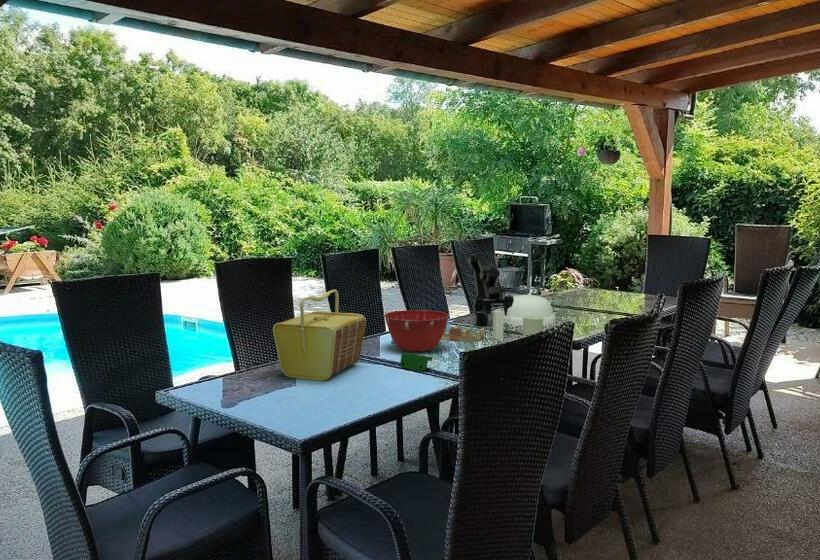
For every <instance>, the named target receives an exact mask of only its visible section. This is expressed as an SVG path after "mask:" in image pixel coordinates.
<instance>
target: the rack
mask: <svg viewBox="0 0 820 560" xmlns="http://www.w3.org/2000/svg"><path fill="white" fill-rule="evenodd" d="M472 330H473V329H472V327H471V326H470V327H469V326H468V327H467V328H465V330H462V328H460V326H459V325H457V326H455V327H450V328H449V330H448V333H447V327H446V328H445V331H444V333H443V335H442V338H441V340H440V341H447V342H449V341H450V342H458V341H466V342H465V343H469V342H477V341H479V340H480V341H482V340H483V339H485V328H484V327H481V329H479V330H477V331H476V332H474V335H472V334H473V333H472ZM482 338H483V339H482ZM481 339H482V340H481ZM480 341H479V342H480ZM477 343H478V342H477Z"/></svg>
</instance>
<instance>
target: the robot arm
mask: <svg viewBox="0 0 820 560" xmlns="http://www.w3.org/2000/svg"><path fill="white" fill-rule="evenodd" d="M467 260H468V261H467V262H468V265H469V268H470V270H471V271H472V272H473V276H474V282H475V283H474V284H475V292H476V297H474V301H473V307H472V313H473V314H474V315H475V323H473V324H472V325H473V326H477V327H487V326H488V325H489V326H491V324H489V317H488V315H491V314H492V313H491V312H492V307H493V305H502V306H503V308H504V313H505V316H507V310H508V308H510V307H512V304H513V302H514V298H513V297H514V296H512V295H510V296H509V295H505V296H504V298H503V299H502V298H501V294H503V293H505V286H504V285H500V286H497V283H498V281H499V278H500V274H501V272H500V270H498V269H497V268H495V266H490V265H489V263H488V260H487V258H486V253H484V252H482V253H480V252H479V253H475V254H473V255H471V256H470V257H468V259H467ZM500 298H501V299H500Z"/></svg>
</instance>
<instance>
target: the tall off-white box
mask: <svg viewBox="0 0 820 560" xmlns="http://www.w3.org/2000/svg"><path fill="white" fill-rule="evenodd" d="M492 317H493V319H492V320H493V321H492V322H493V323H492V325H493V326H492V338H493V339H494V338H495V339H498V340H497V341H501V339H502V341H503V340H504V324H505V323H504V312H503V310H493V314H492ZM495 339H494V340H495Z"/></svg>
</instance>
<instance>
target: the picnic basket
mask: <svg viewBox="0 0 820 560" xmlns="http://www.w3.org/2000/svg"><path fill="white" fill-rule="evenodd" d="M333 293H334V294H335V302H334V304H335V305H334V306H335V307H334V312H333V311H320V310H319V311H318V310H316V311H310V312H309V313H306V314H305V309H304V305H305V302H306V301H309V300H311V301H313V302H320V301H323V300H325V299H327V298H329V296H331V294H333ZM339 297H340V296H339V291H338V290H337V289H331V290H329V291H327V292H325V293H323V294H322V295H319V296H307V297H304V298H302V299H301V300H300V304H299V312H300V313H299V314H300V316H296V317H293V318H290V319H287V320H284V321H282V322H276V323H275V324H274V325H273V327H272V334H273V338H274V343H275V347H276V351H277V352H276V353H277V357H278V363H279V366H280V371H281V373H283V375H285V376H287V377H289V378H294V379H303V380H311V381H312V380H314V381H326V380H329V379H330V378H331V376H333V375H335V374H337V373H340V372H341V371H342V370H345V369H347V368H349V367H350V366H351V365H356V364H358V362H360V359H361V354H362V348H363V341H364V337H365V331H366V326H367V319H366V317H365V316H364V315H363V314H361V313H351V312H350V313H349V312H339V310H340V309H339V302H340V301H339V299H340V298H339Z"/></svg>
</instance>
